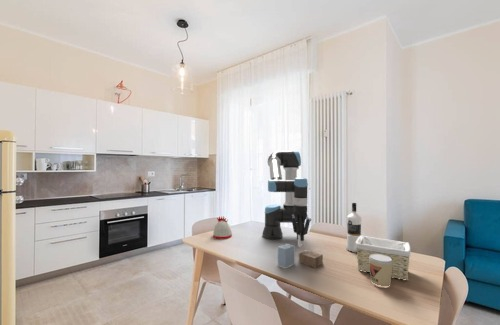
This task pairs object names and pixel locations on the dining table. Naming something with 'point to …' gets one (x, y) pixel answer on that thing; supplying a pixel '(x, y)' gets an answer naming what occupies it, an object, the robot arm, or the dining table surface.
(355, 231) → the vodka
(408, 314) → the dining table surface
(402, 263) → the storage basket
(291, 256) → the slate block
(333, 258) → the dining table surface
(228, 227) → the beanie hat
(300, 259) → the walnut block
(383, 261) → the coffee cup
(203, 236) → the dining table surface
